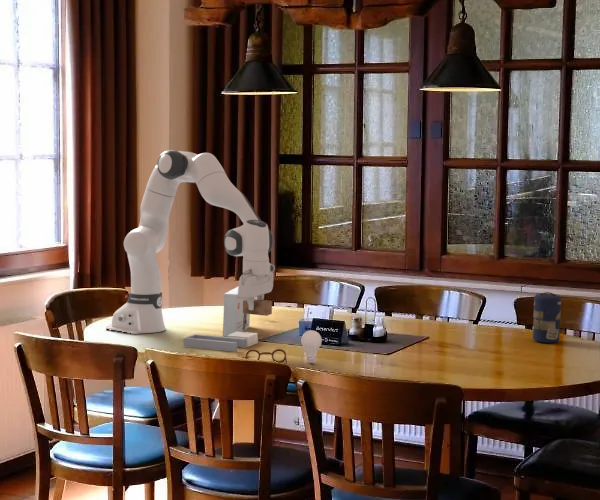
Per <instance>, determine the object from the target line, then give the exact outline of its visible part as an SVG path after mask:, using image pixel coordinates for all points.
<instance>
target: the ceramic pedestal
mask: <svg viewBox="0 0 600 500" xmlns="http://www.w3.org/2000/svg"><path fill="white" fill-rule="evenodd" d="M258 334H259V333H258V332H248V331H243V332H239V331H237V332H234V333H232V334H229V335H227V336H226V337H232V338H242V339H246V347H245V348H249V347H251V346H253V345H256V344H258V343H259V342H258V341H259V338H258Z"/></svg>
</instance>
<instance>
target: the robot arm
mask: <svg viewBox="0 0 600 500" xmlns="http://www.w3.org/2000/svg"><path fill="white" fill-rule="evenodd" d="M156 163H157V164H156V165H155V166H154V168H153V170H152V172H151V174H150V176H149V179H148V181H147V183H146V187H145V191H144V194H143V196H142V200H141V203H140V209H139V211H140V217H139V219H140V220H139V224H138V227H137V228H134V229H132V230H130V232H129V231H128V233H127V234H126V236H125V237H124V240H123V247H124V248H123V249H124V251H125V252H126V255H127V259H128V264H129V269H130V291H131V292H129V293H127V294H125V295H124V296H125V297H124V299H126V303H124V304H123V305H122V306H121V307H119V308H118V309H117V310H115V312H114V313H112V314H113V315H112V320H111V323H110V324H108V325H106V326H105V330H106V329H111V330H117V331H122V332H121V333H123V332H127V333H126V334H130V333H131V335H138V334H151V333H153V334H154V333H161V332H163V331H166V330H167V329H166V325H165V321H164V315H163V310H162V309H163V308H162V307H163V292H162V275H161V274H162V271H161V269H160V267H159V263H158V258H157V254H158V253H159V252H161V251H162V250H163V248H164V247H165V245H166V243H167V239H168V237H167V232H168V225H169V218H170V214H171V211H172V207H173V203H174V201H175V197H176V194H177V190H178V187H179V186H180V185H181V183H186V184H196V186H197V188H198V191H199V193H200V195H201V197H202V198H203V199H204V201H205V202H206V203H208V204H209V205H211V206H215V207H218V208H223V209H226V210H229V211H231V212H233V213H234V214H236V215H237V216H238V217H239V219H240V220H241V222H242V225H240V226H238V227H234V228H232V229H229V230H228V231H227V232H226V233H225V235H224V237H223V247H224V249H225V251H226V253H227V254H228V255H230V256H233V257H243V258H242V274H241V276H240V277H239V280H238V286H237V287H238V297H239V299H247V302H248V305H249V310H254V309H255V305H254V301H253V300H254V299H255V297H256V299H257V300H264V298H265V294H270V293H271V292H273V291H272V290H273V288H274V272H275V270H276V269H275V265H274V264H272V263H270V258H269V253H270V252H271V251H272V249H273V246H274V244H275V238H274V235H273V233H272V230H270V228H269V225H268V223H267V222H265V221H263V220H262V219H261V218H260V216H259V215H258V213H257V212H256V211H255V208H254V207H253V206H252V204H251V203H250V201H249V200H248V198H247V197H246V196H245V193H243V192H241V191H240V189H238V188H237V187H236V186H235V185H234V184H233V183H232V182H231V180H230V179H229V177H228V175H227V173H226V171H225V169H224V168H223V166H222V165H221V163H220V162H219V160H218V159H217V157H216V156H215V155H214V154H212V153H210V152H202V153H199V154H197V153H194V152H192V151H182V150H176V149H169V150H165V151H163V152H162V153H160V155H159V156H158V160H157V162H156ZM111 330H110V331H111ZM117 331H116V332H117Z"/></svg>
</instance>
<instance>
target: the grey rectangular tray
mask: <svg viewBox="0 0 600 500" xmlns="http://www.w3.org/2000/svg"><path fill="white" fill-rule="evenodd" d="M183 347H184V348H185V347H186V348H195V349H202V350H204V349H205V350H214V351H224V352H225V351H226V352H234V353H235V352H237V351H238V348H241V349H245V348H247V347H246V339H242V338H232V337H227V336H219V335H210V334H197V333H193V334H191V335H189V336H186V337H184V338H183Z"/></svg>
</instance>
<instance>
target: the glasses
mask: <svg viewBox="0 0 600 500" xmlns="http://www.w3.org/2000/svg"><path fill="white" fill-rule="evenodd" d="M250 352H251V353H252V352H255V353H256V354H257V355H258V357H257V359H256V360H259V361H260V358H261V356H262V355H269V356H270V355H271V358H272V359H271V360H272V361H273V362H274V361H276V362H282V363H284V362H285V365H286V364H287V365H288V359H287V353H286V351H285V350H284V349H281V348H277V349H275V350H273V351H272V352H269V351H268V352H267V351H265V352H264V351H262V352H260V351H259V350H257V349H256V348H255V349H249V350H247V352H246V353H245V360H246V359H248V360H249V356H248V355H249V354H250ZM277 352H282V353H283V354H284V358H283V359H281V360H276V359H275V358H274V354H275V353H277ZM276 362H275V363H276Z"/></svg>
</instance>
